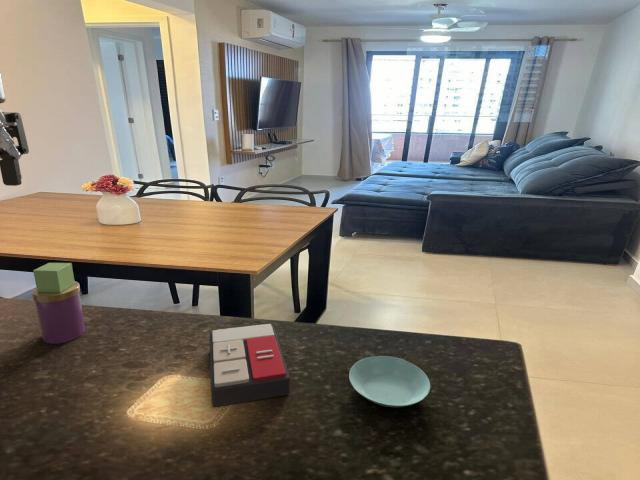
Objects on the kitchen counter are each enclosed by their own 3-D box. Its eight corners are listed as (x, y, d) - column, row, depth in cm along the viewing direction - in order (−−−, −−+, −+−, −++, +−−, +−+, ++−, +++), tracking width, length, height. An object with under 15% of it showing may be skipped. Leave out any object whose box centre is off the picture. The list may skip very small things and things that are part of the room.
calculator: (210, 386, 51) (209, 326, 65) (212, 411, 53) (210, 348, 66) (290, 373, 54) (273, 319, 68) (290, 398, 56) (273, 340, 69)
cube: (37, 292, 65) (32, 270, 64) (53, 283, 69) (49, 262, 68) (60, 292, 65) (56, 271, 64) (75, 283, 69) (71, 263, 68)
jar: (35, 335, 69) (25, 288, 67) (77, 321, 74) (70, 277, 72) (49, 349, 65) (39, 300, 62) (93, 333, 70) (85, 287, 68)
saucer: (342, 368, 62) (343, 356, 61) (413, 366, 63) (414, 353, 62) (356, 421, 51) (357, 407, 50) (441, 417, 52) (443, 403, 51)
